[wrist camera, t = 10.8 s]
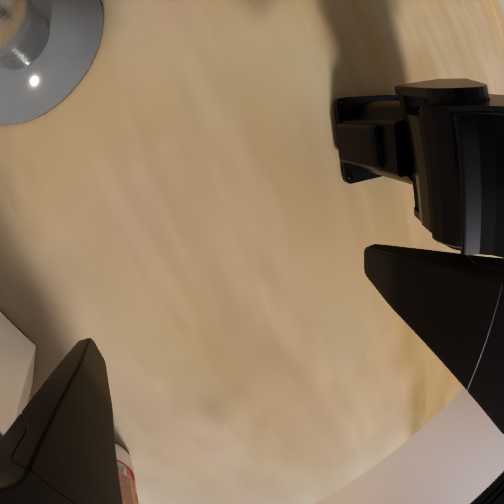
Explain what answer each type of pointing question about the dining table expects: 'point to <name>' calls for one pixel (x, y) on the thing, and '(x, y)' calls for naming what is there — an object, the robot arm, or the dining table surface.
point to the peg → (21, 33)
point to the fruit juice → (126, 476)
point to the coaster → (53, 61)
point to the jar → (14, 372)
